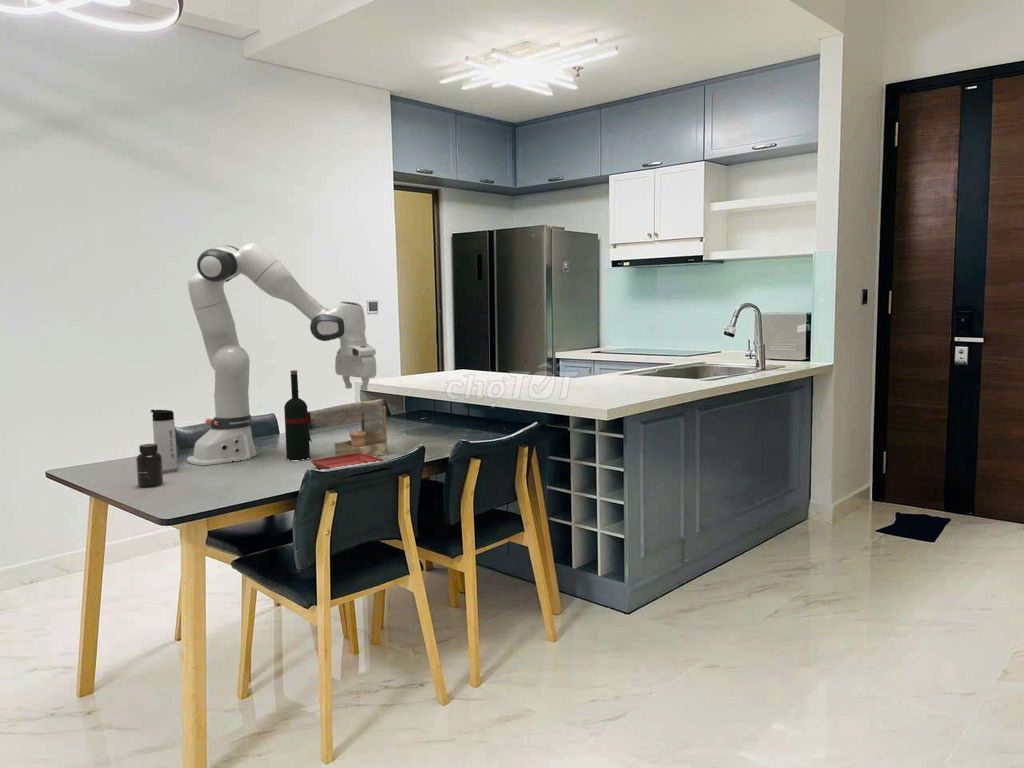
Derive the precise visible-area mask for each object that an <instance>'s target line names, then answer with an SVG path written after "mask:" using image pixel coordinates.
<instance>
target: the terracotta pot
mask: <svg viewBox="0 0 1024 768" xmlns="http://www.w3.org/2000/svg"><path fill="white" fill-rule="evenodd" d="M366 435H367V432H366V431H362V430H353V431H352V430H351V431H349V437H350V440H351V446H353V447H357V448H359V447H365V446H366V444H365V436H366Z"/></svg>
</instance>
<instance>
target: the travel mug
mask: <svg viewBox="0 0 1024 768" xmlns="http://www.w3.org/2000/svg"><path fill="white" fill-rule="evenodd" d="M150 413H152V415H151V416H152V429H153V430H152V431H153V442H154V443H153V444H157V449H158V451H157V453H159V454H161V456H162V470H163V474H169V473H168V472H171V473H173V472H174V471H175V472H177V471H178V469H179V467H178V454H177V439H176V426H175V414H174V413H175V412H174V411H173V410H169V409H151V410H150ZM175 472H174V473H175Z"/></svg>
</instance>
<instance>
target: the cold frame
mask: <svg viewBox="0 0 1024 768" xmlns="http://www.w3.org/2000/svg"><path fill="white" fill-rule="evenodd" d="M360 408H361V409H360V418H361V419H360V421H361V423H360V424H361V425H360V427H361V431H366V432H367V435H366V436H365V444H366V446H365V447H359V448H357V447H353V446H351V439H350V440H345V441H339V442H334V455H336V454H337V455H336V456H340V455H346V454H353V453H363V454H367V455H370V456H377V455H382V456H384V455H383V454H387V455H388V437H387V436H388V435H387V433H388V432H387V410H386V409H387V408H386V405H381V404H380V405H379V404H374V403H368V402H360ZM377 457H378V456H377Z"/></svg>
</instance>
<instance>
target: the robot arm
mask: <svg viewBox="0 0 1024 768" xmlns="http://www.w3.org/2000/svg"><path fill="white" fill-rule="evenodd" d="M196 267H197V271H198V273H194V275H192V276H191V277H190V278H189V280H188V281H187V284H188V285H187V287H188V292H189V299H190V302H191V307H192V308H193V311H194V314H195V317H196V320H197V323H198V326H199V328H200V331H201V336H202V340H203V343H204V348H205V350H206V354H207V357H208V361H209V363H210V364H209V365H210V366H211V368H212V369H213V370H214V393H213V396H214V411H215V416H214V418H213V419H212V418H206V419H205V421H204V422H205V424H206V425H209V426H210V429H209V430H208V431H206V432H205V433H204V434H203V435H202V436H201V437H200V438H199V439H198V440H196V441H195V443H194V446H193V447H194V448H193V455H191V456H188V457H187V458H186V460H187V461H186V462H187V463H189V464H192V465H195V466H197V465H198V466H211V465H217V464H218V465H219V464H225V463H233V462H232V461H234V462H240V460H241V461H248V460H250V459H251V458H253V457H255V456H256V455H257V454H258V453H257V450H256V447H255V445H254V444H255V443H254V440H253V434H252V429H253V428H252V427H253V423H252V421H253V420H252V415H251V413H250V401H249V387H250V386H249V385H250V362H251V361H250V356H249V353H248V351H246V349H244V348H243V347H242V346H240V342H239V338H238V334H237V328H236V323H235V319H234V317H233V315H232V312H231V308H230V305H229V301H228V300H227V297H226V293H225V289H224V286H225V283H227V282H229V281H231V280H232V279H234V278H236V277H237V276H239V275H240V274H241V275H242V276H244V277H245V276H246V277H247V278H248V280H250V281H251V282H252V283H253V284H254V285H255V286H256V287H258V288H259V289H260V290H261V291H263V292H264V293H266V294H268V295H269V296H271V297H273V298H275V299H279V300H281V301H285V302H287V303H289V304H291V305H292V306H294V307H295V308H296V309H298V311H300V312H301V313H302V314H303V315H304V316H305V317H307V319H309V320H310V324H309V330H310V333H311V335H312V336H313V337H314V338H315V339H317V340H318V341H322V342H330V341H332V340H337V339H339V343H340V344H339V346H340V347H339V348H338V350H337V351H336V355H335V361H334V363H335V365H334V367H335V368H334V372H335V374H336V375H337V376H342V380H343V382H344V385H345V387H344V388H345V389H352V388H353V384H352V382H351V381H350V379H351V377H353V378H354V377H355V378H361V381H362V384H361V385H360V391H362V392H366V391H368V385H369V382H370V379H372V378H376V376H377V360H376V357H375V355H376V354H377V352H376V348H374V347H373V346H372V345H370V344H369V343H367V336H366V319H365V318H366V317H365V312H364V311H365V310H364V308H363V306H362V305H361V304H359V303H357V302H351V301H341V302H339V303H338V304H337V305H335V306H334V307H332V308H330V309H329V308H326V307H324V306H322V304H321V303H319V301H317V300H316V299H315V298H314V297H312V295H310V294H309V293H308V292H307V291H306V290H305V289H304V288H303V287H302V286H301V285H300V284H299V282H298V281H297V279H295V277H294V276H293V275H292V273H291V272H290V271H289V269H287V268H286V266H285V265H284V264H283V263H282V262H281V261H280V260H279V259H277V257H275V256H274V255H273V254H272V253H270V252H269V251H268V250H267V249H265V248H263V246H261V245H259V244H257V243H253V242H252V243H251V242H250V243H247V244H244V245H243V246H242V247H241V248H238V247H236V246H233V245H219V246H215V247H212V248H209V249H206V250H204V251H203V252H202V253H200V255H199V256H198V258H197V262H196ZM247 459H248V460H247Z"/></svg>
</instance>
